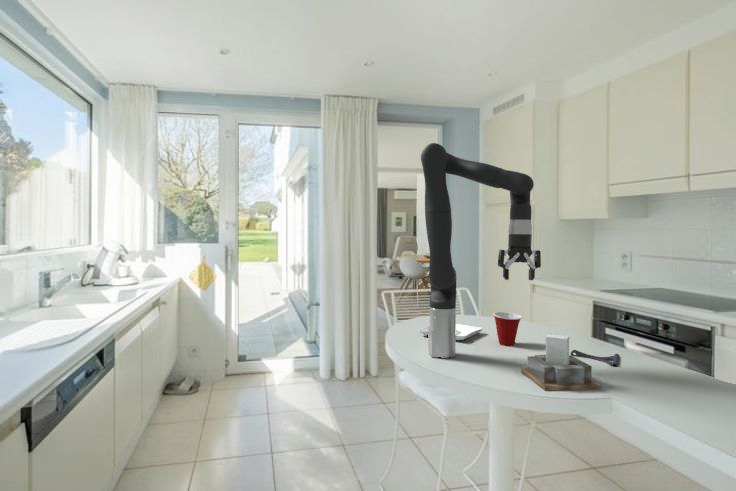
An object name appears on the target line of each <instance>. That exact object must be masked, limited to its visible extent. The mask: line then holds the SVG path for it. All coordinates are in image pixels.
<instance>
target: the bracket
mask: <svg viewBox="0 0 736 491" xmlns="http://www.w3.org/2000/svg"><path fill="white" fill-rule="evenodd" d="M570 356H573V357H575V358H584V359H590V360H591V359H592V360H596V361H599V362H601V363H602V362H603V363H604V364H607V365H609V366H610V367H612V366H613V367H614V366H615V368H618V367H619V362H620V355H619V353H615V354H614V355H610V356H597V355H592V354H588V353H585V352H582V351H579V350H577V349H573V350H571V352H570ZM612 361H613V362H612Z"/></svg>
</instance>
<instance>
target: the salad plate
mask: <svg viewBox="0 0 736 491" xmlns="http://www.w3.org/2000/svg"><path fill="white" fill-rule="evenodd" d="M428 327H430V325H427V326H425V327H422V328H420V329H419V330H418V331H419V333H420V334H422V335H425V336H427V335H428ZM483 329H484V327H481V326H480V327H479V326H473V325H467V324H462V323H461V324H460V323H456V330H458V331H460V332H461V334H459V335H456V340H462V341H465V340H467V339H469V338H471V337H474V336H475V335H477V334H479V333H480V332H482V331H483ZM466 338H467V339H466ZM464 339H465V340H464Z"/></svg>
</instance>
